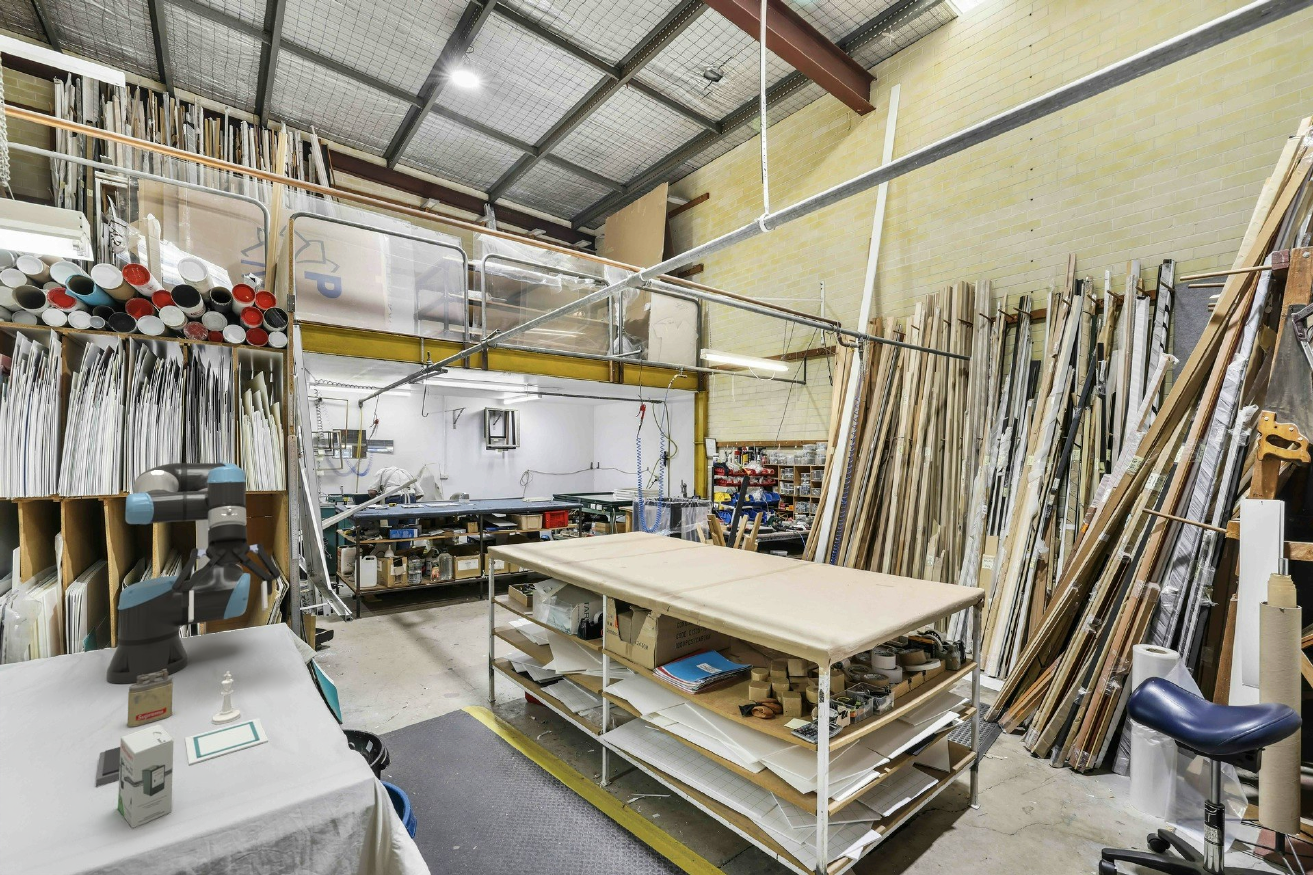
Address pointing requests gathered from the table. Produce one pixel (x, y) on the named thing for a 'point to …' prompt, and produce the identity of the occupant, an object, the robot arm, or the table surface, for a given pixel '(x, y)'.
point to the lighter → (150, 698)
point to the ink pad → (108, 766)
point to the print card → (224, 741)
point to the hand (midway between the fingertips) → (229, 614)
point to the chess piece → (226, 704)
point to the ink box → (145, 775)
